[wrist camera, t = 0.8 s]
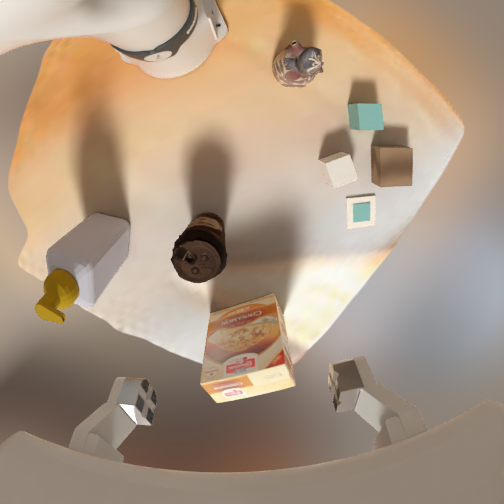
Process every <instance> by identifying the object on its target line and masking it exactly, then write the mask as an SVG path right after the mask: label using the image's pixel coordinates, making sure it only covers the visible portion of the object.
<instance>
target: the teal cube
mask: <svg viewBox="0 0 504 504" xmlns="http://www.w3.org/2000/svg"><path fill="white" fill-rule="evenodd" d="M348 112H349V121H350V129H355V130H384V126H383V115H382V105H381V104H366V103H356V104H348Z"/></svg>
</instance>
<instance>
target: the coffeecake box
mask: <svg viewBox="0 0 504 504" xmlns="http://www.w3.org/2000/svg"><path fill="white" fill-rule="evenodd" d="M200 384H201V385H202V387H203V388H204V389H205V390H206V391H207V392H208V393H209V394H210V395H211V397H212V398H213V399H214V400H215V401H216V402H217V403H220V402H225V401H231V400H237V399H241V398H247V397H251V396H256V395H261V394H265V393H269V392H273V391H277V390H281V389H285V388H289V387H293V386H295V378H294V373H293V367H292V361H291V355H290V349H289V344H288V338H287V333H286V326H285V321H284V316H283V313H282V311H281V308H280V306H279V303H278V301H277V298H276V296H275V294H274V293H272V294H269V295H266V296H263V297H260V298H257V299H254V300H251V301H248V302H245V303H242V304H239V305H236V306H232V307H229V308H226V309H223V310H220V311H216V312H213V313H210V318H209V325H208V331H207V338H206V345H205V352H204V359H203V366H202V374H201V381H200Z"/></svg>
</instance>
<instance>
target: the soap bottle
mask: <svg viewBox="0 0 504 504" xmlns="http://www.w3.org/2000/svg"><path fill="white" fill-rule="evenodd" d="M129 234H130V225H129V222H128V221H126V220H125V219H121V218H116V217H112V216H108V215H103V214H99V213H95V214H92V215H91V216H89V217H88V218H87V219H85V220H84V221H83V222H81V223H80V224H79V225H77V226H76V227H75V228H74V229H72V230H71V231H70V232H68V233H67V234H66V235H65V236H64V237H62V238H61V239H60V240H59V241H57V242H56V243H55V244H54V245H53V246H51V247H50V248H49V249H48V251H47V255H46V261H47V269H48V276H47V278H46V280H45V282H44V293H45V295H44V296H43V297H42V298H41V299H40V300H39V302H38V303H37V304H36V306H35V311H36V313H37V314H38V316H40V317H41V318H42V319H44V320H48V321H52V322H57V323H63V322H64V321H65V315H64V313H62V312H60V311H59V310H57V308H60V309H64V308H68V307H70V306H71V305H72V304H73V303H75V304H77V305H80V306H83V307H93V306H94V305H95V303H96V301H97V300H98V298H99V297H100V296H101V294H102V293H103V291H104V290H105V288H106V287H107V285H108V284H109V282H110V281H111V280H112V278H113V277H114V275H115V274H116V273H117V271H118V270H119V268H120V267H121V266H122V264H123V263H124V262H125V260H126V259H127V257H128V248H129Z"/></svg>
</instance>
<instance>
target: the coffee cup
mask: <svg viewBox="0 0 504 504" xmlns="http://www.w3.org/2000/svg"><path fill="white" fill-rule="evenodd" d="M226 259H227V253H226V247H225V232H224V224H223V221H222V220H221V219H220V218H219V217H218V216H217V215H215V214H212V213H203V214H200V215H198V216H197V217H196V218H195V219H194V220H193V221H192V222H191V223H190V224H189V225H188V227H187V228H186V229H185V231H184V232H183V233H182V235H179V238H178V239H177V240H176V242H175V245H174V249H173V256H172V258H171V262H172V263H173V265H174V268H175V269H176V272H177V273H178V275H179V276H180V277H181V278H183V279H184V280H187V281H190V282H193V283H202V282H206V281H208V280H210V279H212V278H214V277H216V276H217V275H218V274H220V273H221V272H222V270H223V269H224V268H225V266H226Z"/></svg>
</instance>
